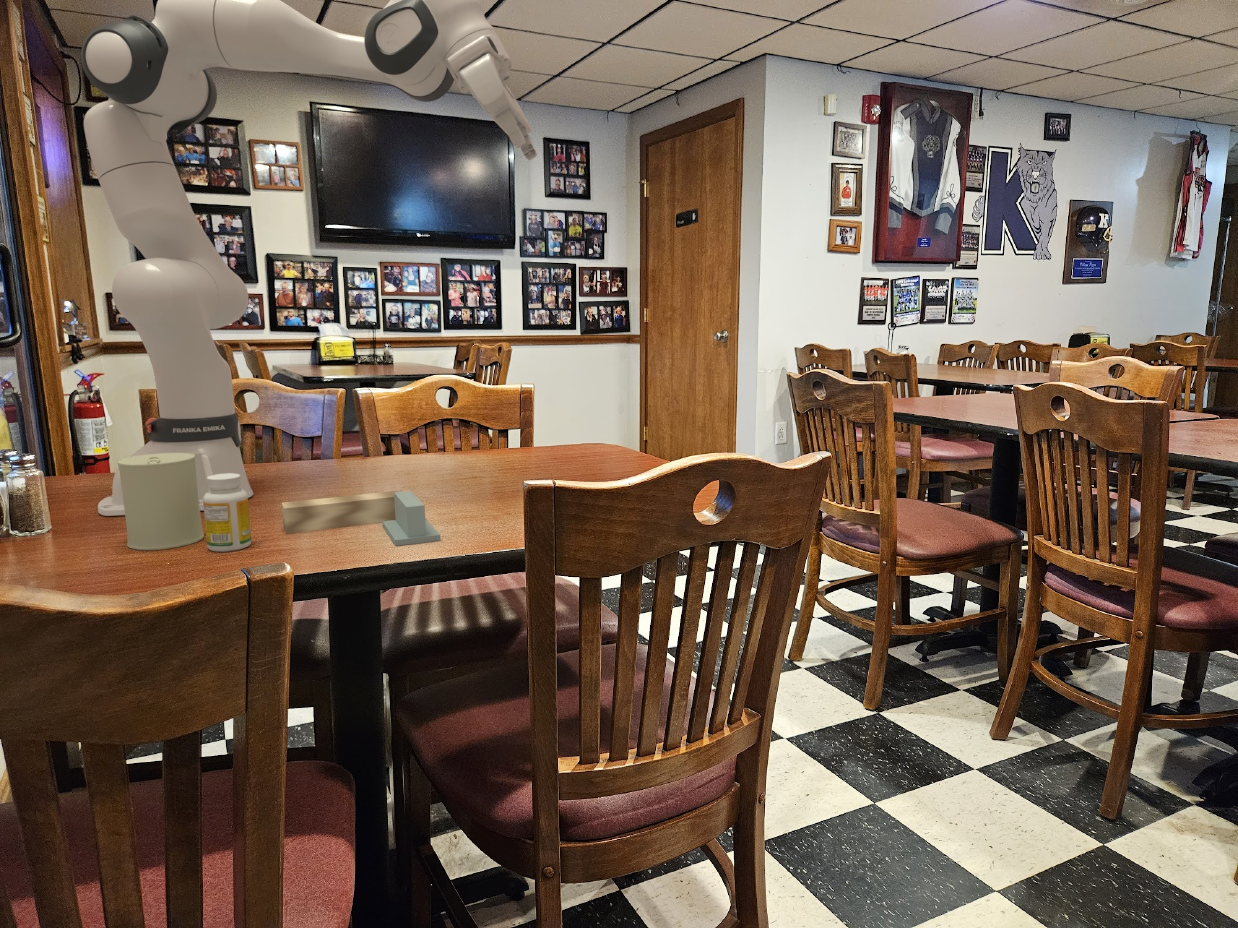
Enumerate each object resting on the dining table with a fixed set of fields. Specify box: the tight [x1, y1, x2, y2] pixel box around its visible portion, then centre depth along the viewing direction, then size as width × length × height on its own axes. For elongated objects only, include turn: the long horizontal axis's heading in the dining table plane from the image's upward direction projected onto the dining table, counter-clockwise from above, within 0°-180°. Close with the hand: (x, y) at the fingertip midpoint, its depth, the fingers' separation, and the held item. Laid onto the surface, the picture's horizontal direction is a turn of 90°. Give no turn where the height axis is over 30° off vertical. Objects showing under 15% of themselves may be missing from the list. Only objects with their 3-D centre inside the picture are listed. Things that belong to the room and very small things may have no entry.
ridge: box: [381, 490, 441, 547], centre depth 113 cm, size 6×11×5 cm, turn 25°
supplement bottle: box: [203, 473, 252, 553], centre depth 107 cm, size 5×5×10 cm
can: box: [117, 453, 205, 551], centre depth 110 cm, size 9×9×12 cm
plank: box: [281, 489, 409, 535], centre depth 119 cm, size 18×4×4 cm, turn 117°
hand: (527, 151), depth 122 cm, fingers open, 8 cm apart
